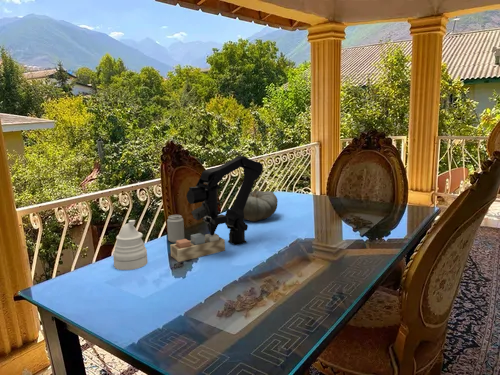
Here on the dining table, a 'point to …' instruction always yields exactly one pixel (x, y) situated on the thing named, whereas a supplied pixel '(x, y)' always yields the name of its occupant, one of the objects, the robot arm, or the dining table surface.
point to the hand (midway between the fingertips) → (212, 235)
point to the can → (175, 228)
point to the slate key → (197, 239)
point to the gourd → (260, 205)
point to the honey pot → (129, 248)
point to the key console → (197, 250)
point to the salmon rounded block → (182, 243)
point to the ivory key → (211, 237)
